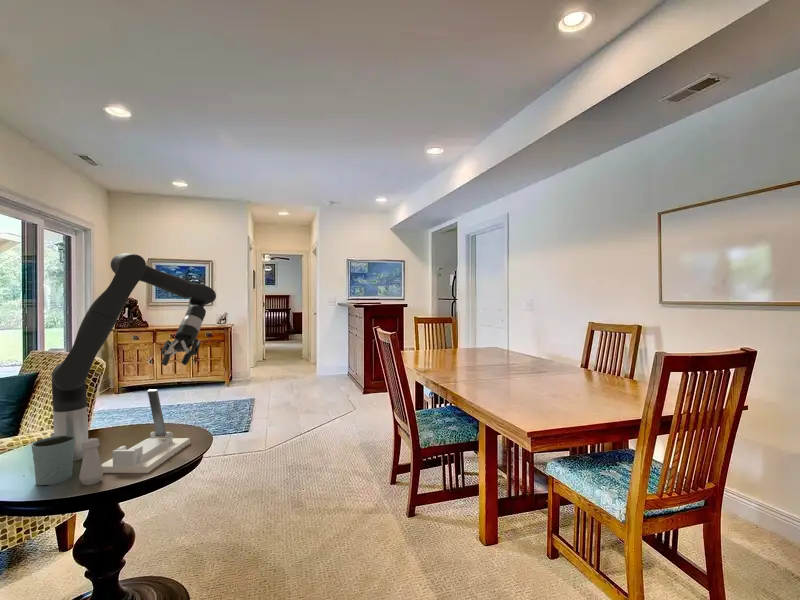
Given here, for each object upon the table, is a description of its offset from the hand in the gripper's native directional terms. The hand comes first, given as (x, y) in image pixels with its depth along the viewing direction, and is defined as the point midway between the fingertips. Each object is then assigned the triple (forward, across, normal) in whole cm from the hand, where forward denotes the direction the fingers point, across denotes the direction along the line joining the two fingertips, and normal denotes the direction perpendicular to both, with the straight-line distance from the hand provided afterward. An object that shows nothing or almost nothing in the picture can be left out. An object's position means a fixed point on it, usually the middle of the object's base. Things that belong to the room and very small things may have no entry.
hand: (173, 364), depth 158 cm
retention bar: (+19, 0, +2) cm, 19 cm away
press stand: (+32, 0, +6) cm, 33 cm away
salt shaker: (+45, -2, -9) cm, 46 cm away
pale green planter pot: (+44, -15, -9) cm, 48 cm away
